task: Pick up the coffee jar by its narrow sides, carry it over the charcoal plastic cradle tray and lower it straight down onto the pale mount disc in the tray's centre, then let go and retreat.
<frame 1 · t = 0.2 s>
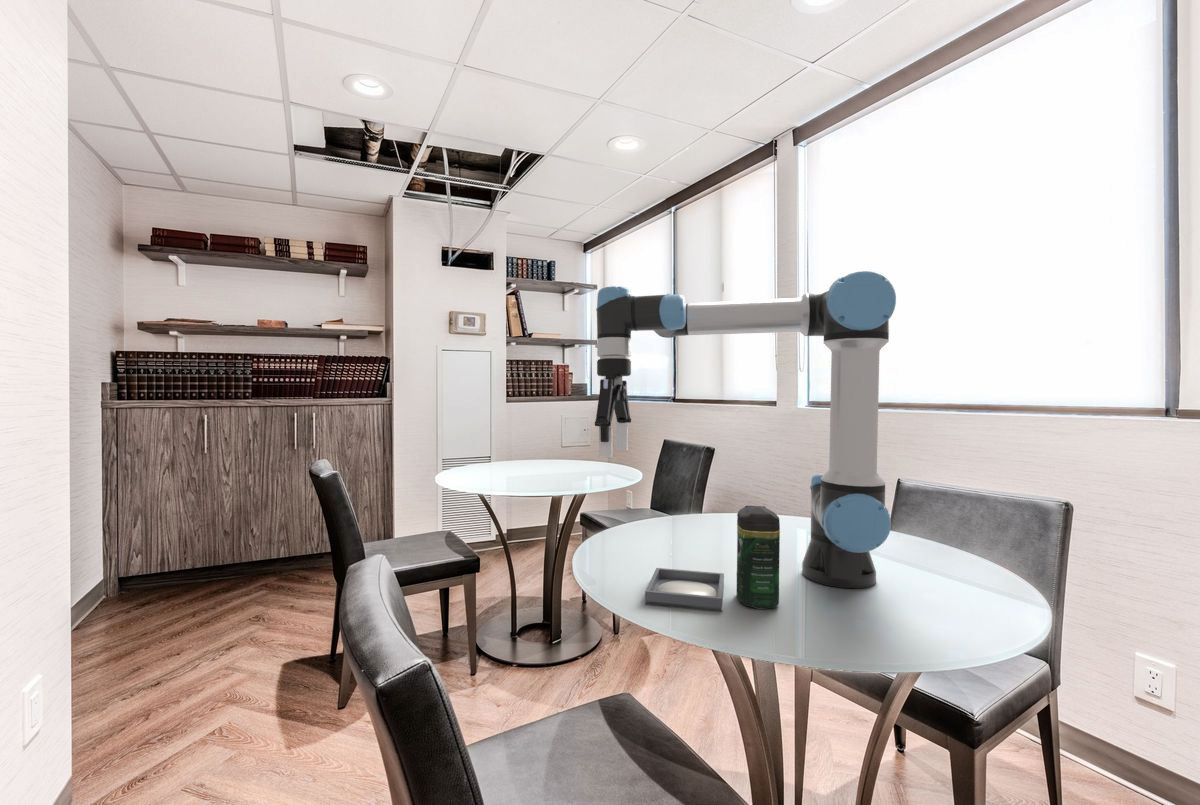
hand: (614, 454, 118), 28 cm above the table, fingers open, 13 cm apart
cradle tray: (686, 594, 109), on the table
coffee jar: (757, 601, 106), on the table
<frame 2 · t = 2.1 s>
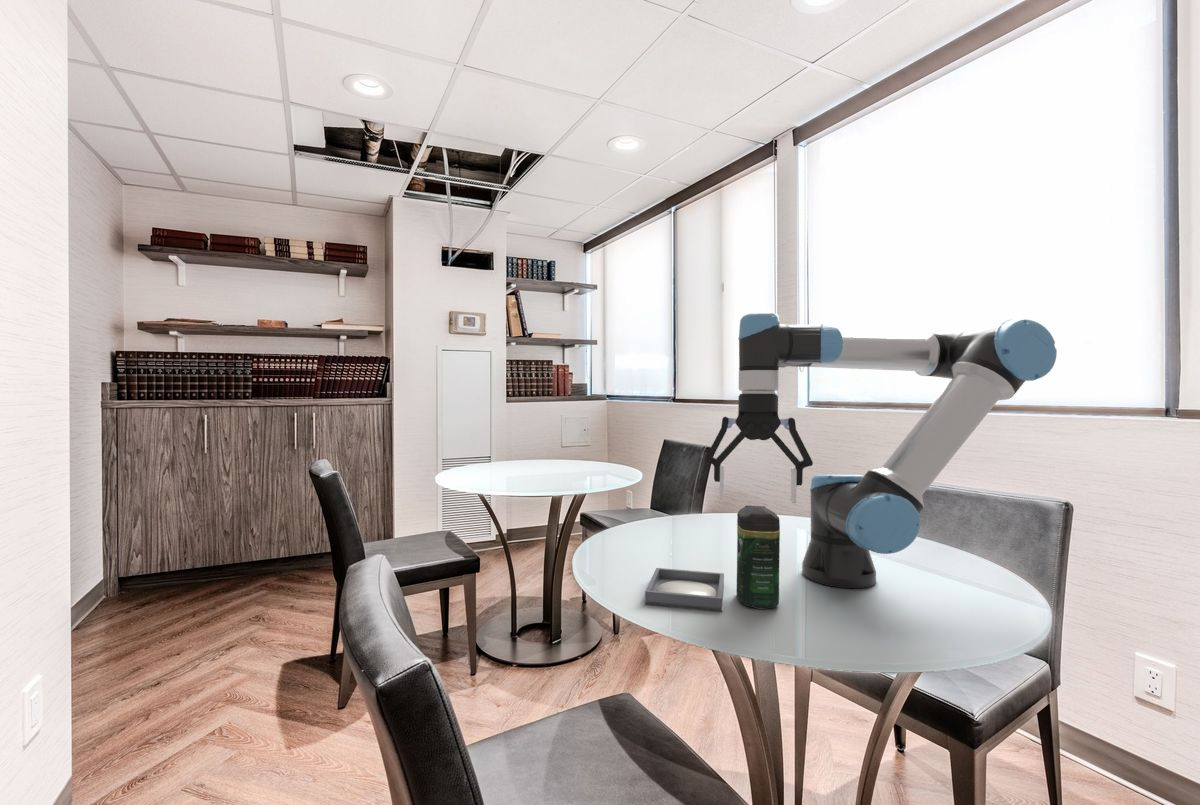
hand: (757, 500, 105), 20 cm above the table, fingers open, 13 cm apart
nothing on the table moved.
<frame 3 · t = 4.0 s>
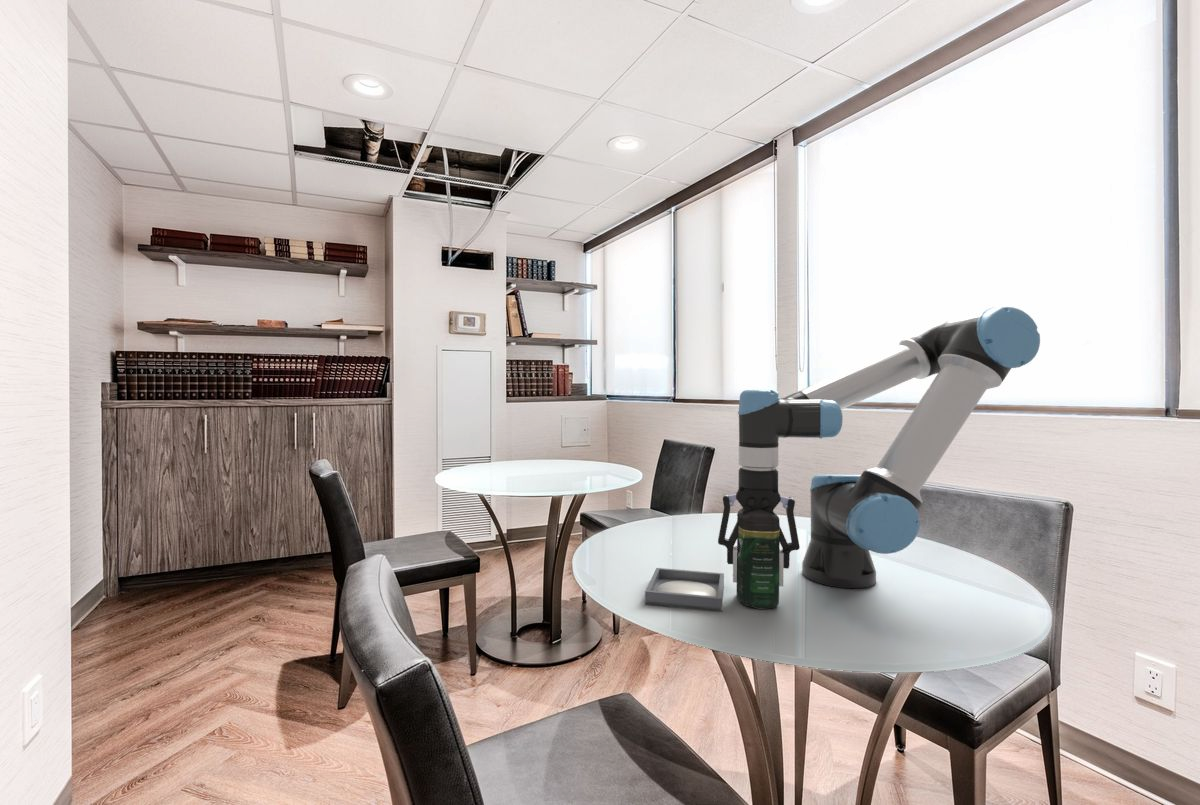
hand: (757, 581, 106), 4 cm above the table, fingers closed on coffee jar, 8 cm apart
coffee jar: (757, 601, 106), on the table, touching gripper
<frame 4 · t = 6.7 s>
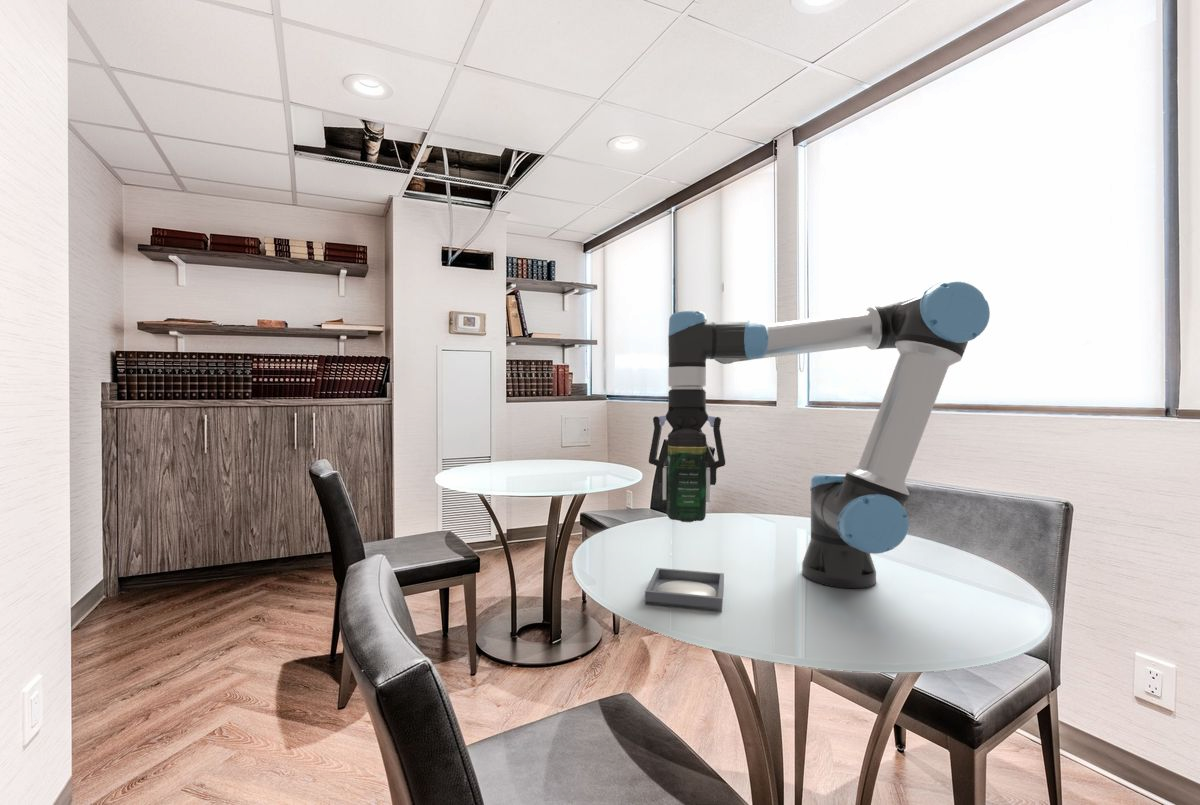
hand: (686, 499, 109), 19 cm above the table, fingers closed on coffee jar, 8 cm apart
coffee jar: (686, 518, 109), point 16 cm above the table, touching gripper
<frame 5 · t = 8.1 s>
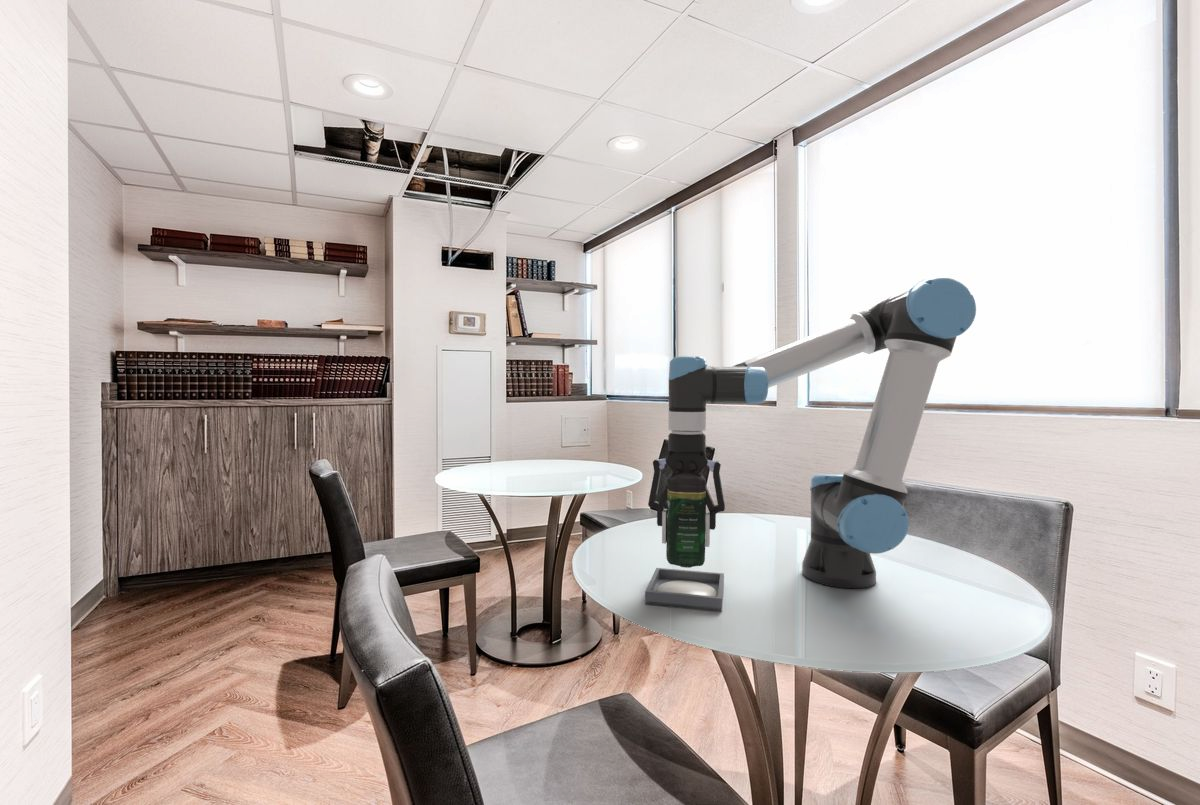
hand: (686, 543, 109), 10 cm above the table, fingers closed on coffee jar, 8 cm apart
coffee jar: (685, 562, 109), point 7 cm above the table, touching gripper
when the fingers open (6 cm above the table, at t = 9.4 s): coffee jar drops 1 cm, resting on cradle tray.
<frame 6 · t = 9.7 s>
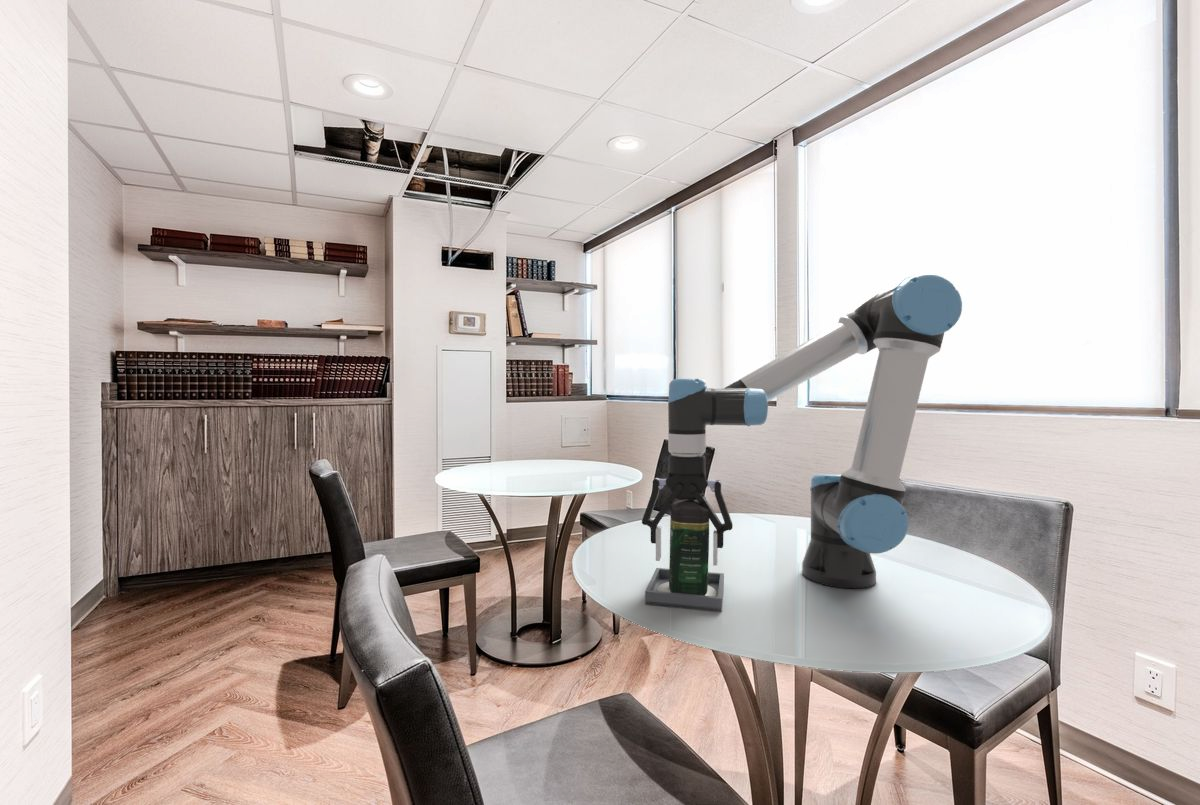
hand: (686, 561, 109), 7 cm above the table, fingers open, 11 cm apart
coffee jar: (688, 591, 109), point 1 cm above the table, touching cradle tray
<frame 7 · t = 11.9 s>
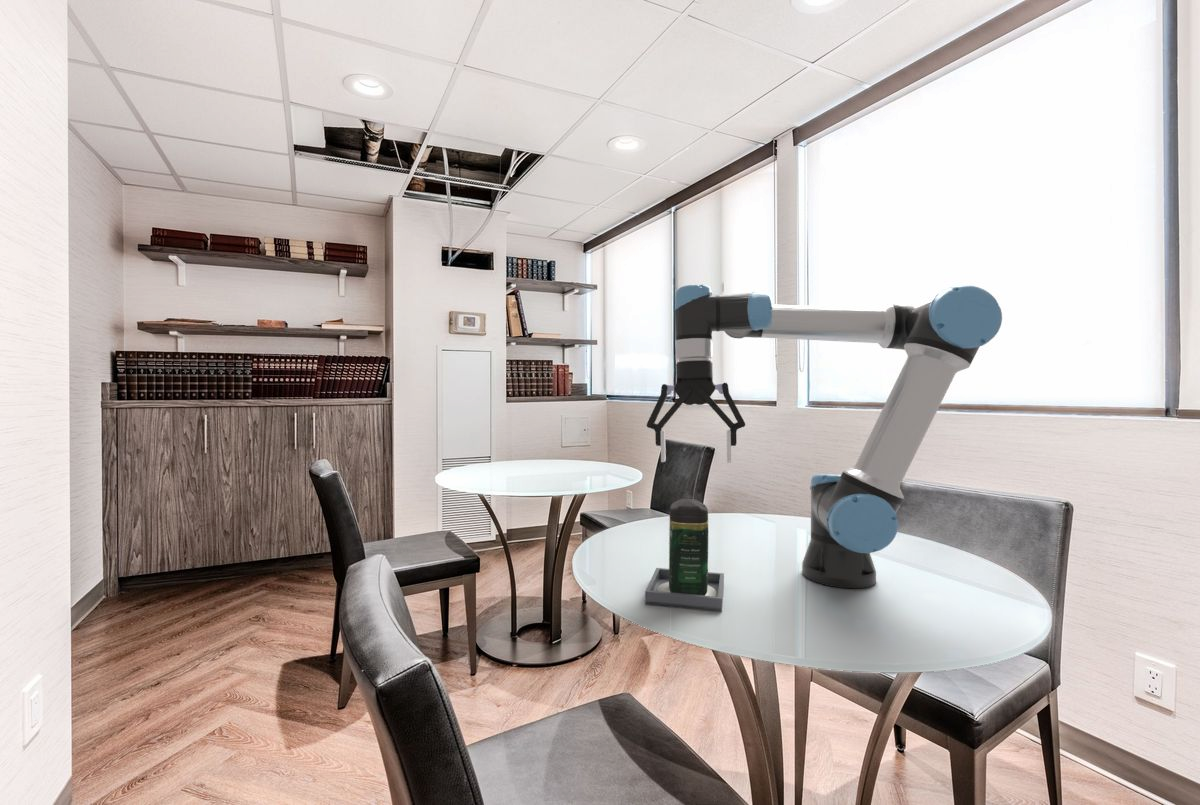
hand: (695, 461, 112), 27 cm above the table, fingers open, 13 cm apart
nothing on the table moved.
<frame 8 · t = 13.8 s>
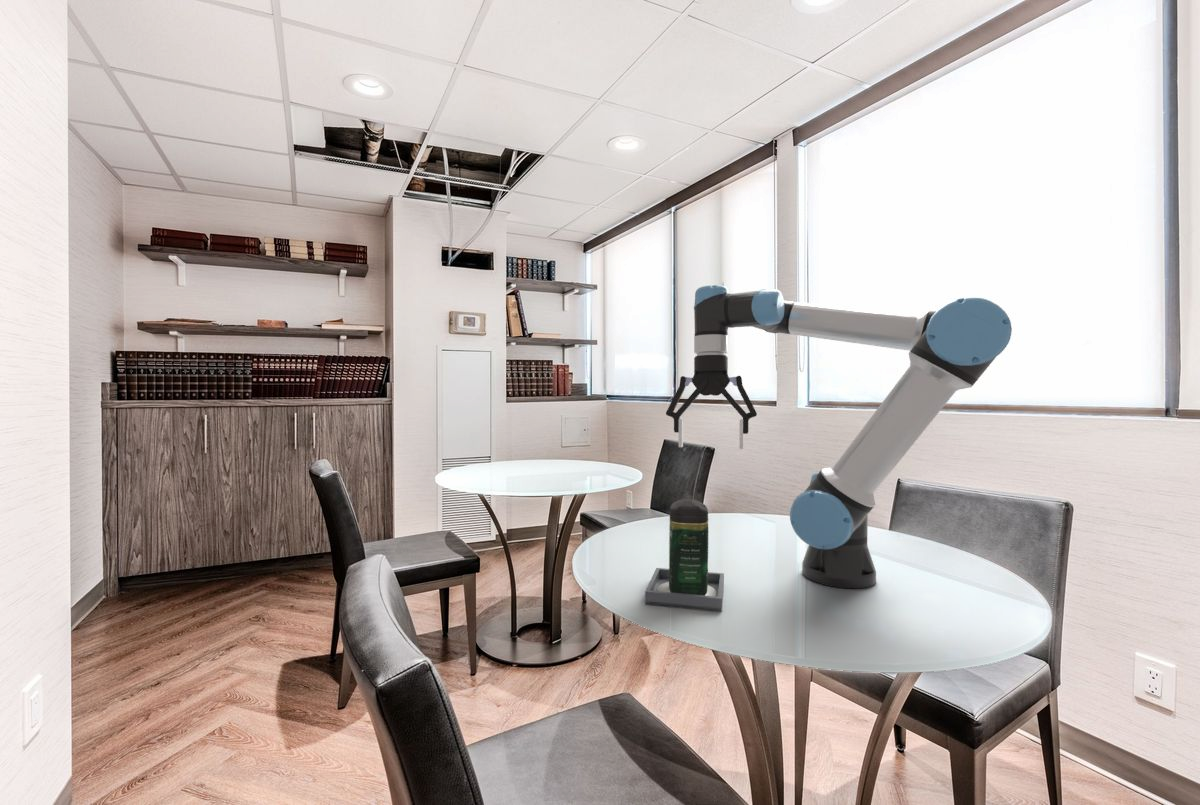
hand: (710, 447, 122), 29 cm above the table, fingers open, 13 cm apart
nothing on the table moved.
at the end: coffee jar 0.4 cm from the cradle tray (horizontally); coffee jar tilted 0°; the gripper is holding nothing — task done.
